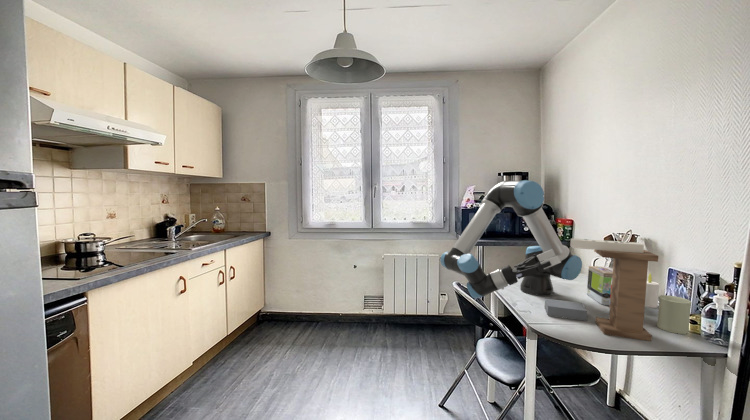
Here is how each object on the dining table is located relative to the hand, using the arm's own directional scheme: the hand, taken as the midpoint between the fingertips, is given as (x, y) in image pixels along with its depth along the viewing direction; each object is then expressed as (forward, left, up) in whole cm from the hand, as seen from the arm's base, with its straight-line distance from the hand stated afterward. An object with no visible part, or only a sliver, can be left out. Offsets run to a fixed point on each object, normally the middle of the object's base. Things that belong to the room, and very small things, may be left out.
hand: (556, 255), depth 131 cm
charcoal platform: (-11, +6, -26) cm, 29 cm away
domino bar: (0, +16, +4) cm, 16 cm away
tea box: (-38, +27, -27) cm, 54 cm away
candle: (-38, +44, -27) cm, 64 cm away
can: (-10, +42, -27) cm, 51 cm away
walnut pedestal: (0, +22, -26) cm, 34 cm away
